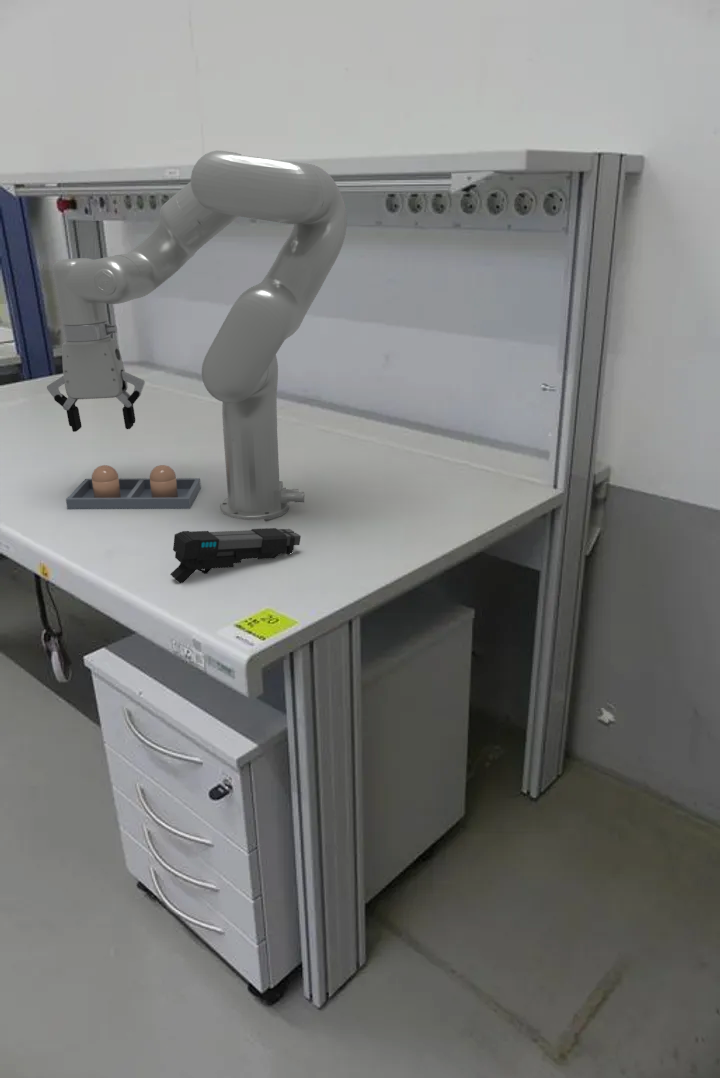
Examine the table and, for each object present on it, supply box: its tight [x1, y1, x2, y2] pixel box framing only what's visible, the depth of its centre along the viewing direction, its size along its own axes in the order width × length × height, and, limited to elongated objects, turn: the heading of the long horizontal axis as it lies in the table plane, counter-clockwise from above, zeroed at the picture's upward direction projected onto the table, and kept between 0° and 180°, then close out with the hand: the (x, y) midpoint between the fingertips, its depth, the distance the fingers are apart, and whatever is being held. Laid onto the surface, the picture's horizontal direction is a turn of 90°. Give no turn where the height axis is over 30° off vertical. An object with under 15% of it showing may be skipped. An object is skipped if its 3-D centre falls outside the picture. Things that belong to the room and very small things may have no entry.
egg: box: [91, 464, 121, 498], centre depth 152 cm, size 5×5×6 cm
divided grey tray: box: [65, 477, 202, 510], centre depth 153 cm, size 22×12×2 cm, turn 90°
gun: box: [170, 527, 302, 584], centre depth 126 cm, size 4×20×10 cm, turn 124°
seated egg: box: [149, 464, 178, 498], centre depth 152 cm, size 5×5×6 cm
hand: (103, 428), depth 147 cm, fingers open, 9 cm apart
